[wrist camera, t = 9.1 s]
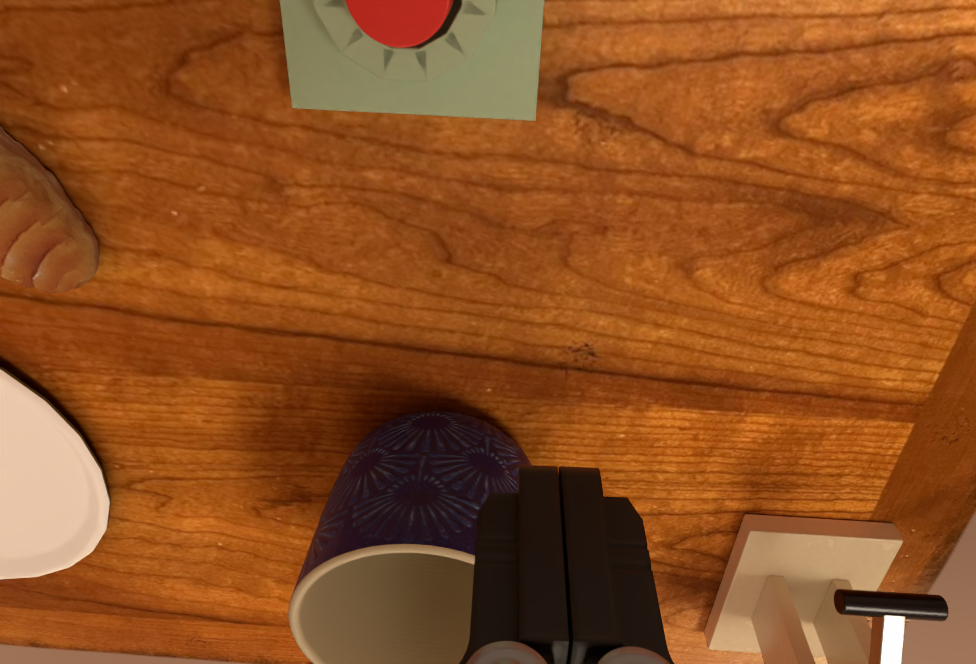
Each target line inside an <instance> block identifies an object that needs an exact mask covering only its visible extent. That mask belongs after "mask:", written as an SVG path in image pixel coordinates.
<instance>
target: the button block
mask: <svg viewBox="0 0 976 664" xmlns="http://www.w3.org/2000/svg"><path fill="white" fill-rule="evenodd" d="M280 7H281V16H282V25H283V33H284V42H285V51H286V60H287V68H288V77H289V86H290V94H291V103H292V108H299V109H318V110H338V111H357V112H376V113H395V114H414V115H434V116H453V117H472V118H491V119H510V120H530V121H535V120H536V107H537V94H538V81H539V67H540V54H541V40H542V27H543V14H544V0H454V1H453V4H452V7H451V9H450V12H449V14H448V16H447V17H446V19H445V21H444V23H443V24H442V26H441V27H440V29H439V30H438V31H437V32H436V33H435V34H434V35H433V36H432V37H431V38H429V39H428V40H426V41H425V42H423V43H421V44H419V45H416V46H412V47H406V48H397V47H391V46H387V45H384V44H381V43H379V42H377V41H375V40H374V39H372V38H371V37H369V36H368V35H367V34H366V33H365V32H364V31H363V30H361V28H360V27H359V26H358V25H357V23H356V22H355V20H354V19H353V17H352V15H351V13H350V11H349V9H348V6H347V4H346V0H280Z"/></svg>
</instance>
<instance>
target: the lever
mask: <svg viewBox="0 0 976 664" xmlns="http://www.w3.org/2000/svg"><path fill="white" fill-rule="evenodd" d="M834 605H835V608H836V611H837V612H838V613H839V614H841V615H853V616H868V617H873V619H872V630H871V642H870V654H869V664H902V653H903V642H904V631H905V620H906V619H915V620H929V621H945V620H946V619H947V617H948V606H947V603H946V601H945V600H944V598H943V597H941V596H939V595H928V594H913V593H897V592H882V591H867V590H851V589H837V590H836V591H835V593H834Z"/></svg>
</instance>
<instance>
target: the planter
mask: <svg viewBox="0 0 976 664" xmlns="http://www.w3.org/2000/svg"><path fill="white" fill-rule="evenodd" d="M519 465H530V466H532V465H531V463H530V462H529V460H528V458H527V457H526V455H525V454H524V452H523V451H522V450H521V448H520V447H519V446H518V445H517V444H516V443H515V442H514V441H513V440H512V439H511V438H510V437H508V436H507V435H506V434H505V433H503V432H502V431H500V430H499V429H497V428H496V427H494V426H492V425H490V424H489V423H486V422H484V421H482V420H480V419H477V418H474V417H471V416H467V415H463V414H459V413H453V412H444V411H428V412H418V413H412V414H408V415H404V416H401V417H398V418H395V419H393V420H390V421H388V422H386V423H384V424H382V425H381V426H379V427H377V428H376V429H375V430H373V431H372V432H371V433H369V434H368V435H367V436H366V437H365V438H364V439H363V440H362V441H361V442H360V443H359V444H358V445H357V447H356V448H355V449H354V450H353V451H352V453H351V454H350V456H349V457H348V459H347V461H346V462H345V464H344V466H343V468H342V470H341V472H340V474H339V476H338V478H337V480H336V482H335V484H334V486H333V489H332V491H331V494H330V496H329V499H328V501H327V503H326V506H325V508H324V511H323V513H322V516H321V518H320V521H319V524H318V526H317V529H316V532H315V534H314V537H313V540H312V542H311V545H310V548H309V550H308V553H307V556H306V559H305V561H304V564H303V567H302V570H301V572H300V575H299V578H298V581H297V583H296V586H295V589H294V592H293V594H292V597H291V600H290V604H289V615H288V616H289V624H290V628H291V631H292V634H293V636H294V638H295V641H296V643H297V644H298V646H299V647H300V649H301V650H302V652H303V653H304V654H305V655H306V657H307V658H308V659H309V660H310V661H311V662H312V663H313V664H459V663H460V661H461V660H462V658H463V656H464V654H465V652H466V650H467V647H468V644H469V637H470V623H471V608H472V592H473V577H474V563H475V546H476V531H477V515H478V512H479V510H480V509H481V507H482V505H483V504H484V502H485V500H486V499H487V497H488V495H489V494H490V492H494V493H517V485H518V469H519Z"/></svg>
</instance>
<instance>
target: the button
mask: <svg viewBox="0 0 976 664" xmlns="http://www.w3.org/2000/svg"><path fill="white" fill-rule="evenodd" d="M453 1H454V0H346V4H347V6H348V9H349V11H350V13H351V15H352V17H353V19H354V20H355V22H356V23H357V25H358V26H359V27H360V28H361V30H363V31H364V32H365V33H366V34H367V35H368V36H369V37H371V38H372V39H374V40H375V41H377V42H379V43H381V44H384V45H387V46H391V47H397V48H406V47H412V46H416V45H419V44H421V43H423V42H425V41H426V40H428V39H429V38H431V37H432V36H433V35H434V34H435V33H436V32H437V31H438V30H439V29H440V27H441V26H442V24H443V23H444V21H445V19H446V17H447V16H448V14H449V12H450V9H451V7H452V4H453Z"/></svg>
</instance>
